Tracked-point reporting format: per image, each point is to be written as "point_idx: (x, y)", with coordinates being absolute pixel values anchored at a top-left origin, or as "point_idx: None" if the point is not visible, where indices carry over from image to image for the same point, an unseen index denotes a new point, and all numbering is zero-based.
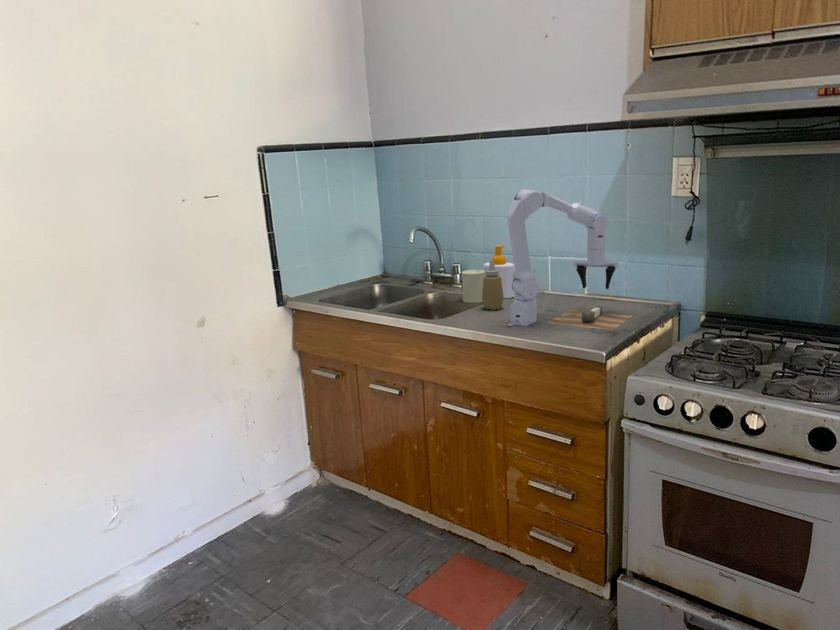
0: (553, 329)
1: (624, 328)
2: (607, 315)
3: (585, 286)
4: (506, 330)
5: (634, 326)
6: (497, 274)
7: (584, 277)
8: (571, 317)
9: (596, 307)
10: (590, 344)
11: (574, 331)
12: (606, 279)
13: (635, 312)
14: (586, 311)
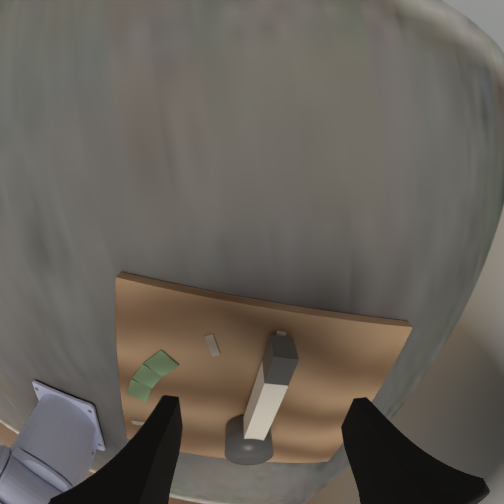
0: None
1: None
2: (316, 347)
3: (179, 419)
4: None
5: (392, 396)
6: None
7: (163, 490)
8: (171, 392)
9: (270, 383)
10: (275, 497)
11: (222, 461)
12: (361, 491)
13: (429, 211)
14: (240, 449)
